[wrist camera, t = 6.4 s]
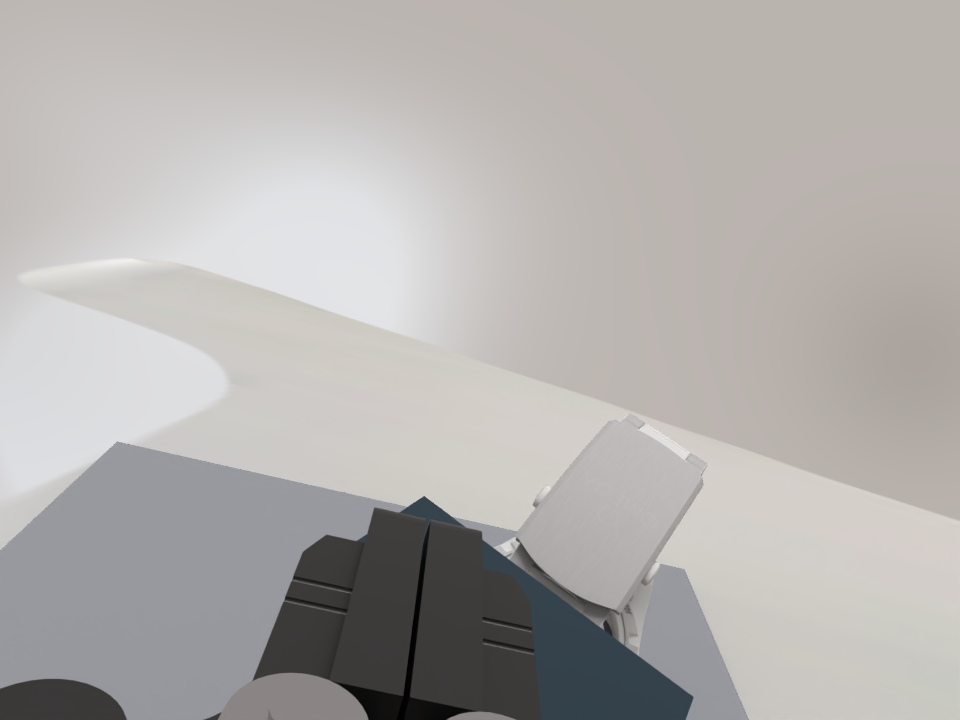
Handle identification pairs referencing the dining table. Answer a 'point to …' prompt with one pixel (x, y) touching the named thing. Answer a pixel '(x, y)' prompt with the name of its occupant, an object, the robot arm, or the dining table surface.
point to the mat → (224, 586)
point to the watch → (598, 572)
